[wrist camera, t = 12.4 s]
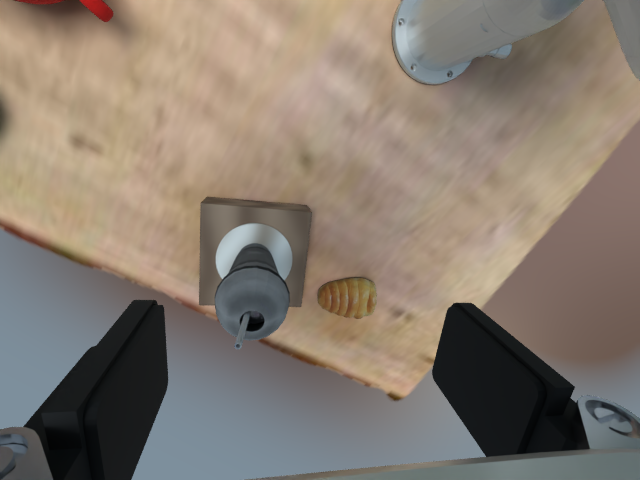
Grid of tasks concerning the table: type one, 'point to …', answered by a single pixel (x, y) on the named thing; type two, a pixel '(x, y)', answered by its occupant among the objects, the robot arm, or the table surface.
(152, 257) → the table surface
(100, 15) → the ceramic cup
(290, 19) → the table surface
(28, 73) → the table surface
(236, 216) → the walnut stand
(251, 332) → the beverage cup
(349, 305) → the pastry
